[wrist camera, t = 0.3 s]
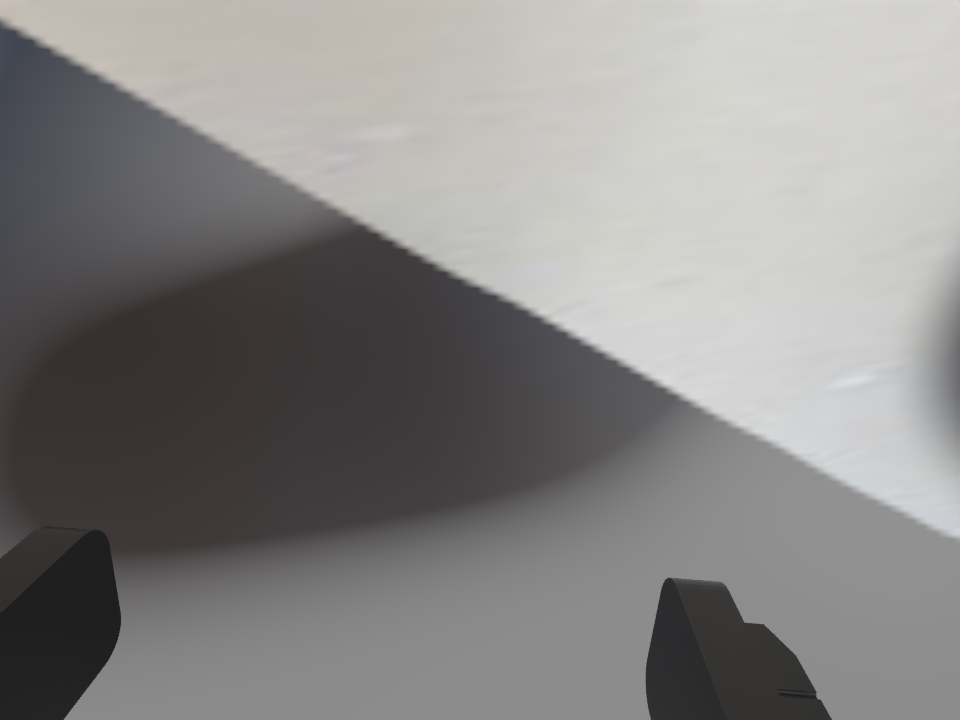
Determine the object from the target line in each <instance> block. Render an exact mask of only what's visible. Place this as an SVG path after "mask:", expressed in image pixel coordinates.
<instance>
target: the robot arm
mask: <svg viewBox="0 0 960 720" xmlns="http://www.w3.org/2000/svg"><path fill="white" fill-rule="evenodd" d="M120 626H121V612H120V606H119V600H118V594H117V588H116V582H115V576H114V570H113V563H112V557H111V551H110V545H109V541H108V538H107V536H106V535H105V534H104V533H103V532H102V531H99V530H91V529H79V528H66V527H53V526H44V527H40V528H38V529H36V530H34V531H33V532H32V533H31V534H29V535H28V536H27V537H26V538H24V539H23V540H22V541H21V542H20V543H18V544H17V545H16V546H15V547H14V548H12V549H11V550H10V551H9V552H8V553H6V554H5V555H4V556H3V557H2V558H0V720H64V718H65V717H66V716H67V714H68V713H69V712H70V710H71V709H72V708H73V706H74V705H75V704H76V702H77V701H78V700H79V699H80V697H81V696H82V694H83V693H84V692H85V691H86V689H87V688H88V687H89V685H90V684H91V683H92V681H93V680H94V679H95V677H96V676H97V675H98V673H99V672H100V671H101V670H102V668H103V667H104V666H105V664H106V663H107V661H108V660H109V658H110V656H111V655H112V652H113V650H114V648H115V645H116V643H117V640H118V636H119V631H120ZM646 694H647V703H648V708H649V713H650V717H651V720H832V719H831V717H830V716H829V714H828V712H827V710H826V709H825V707H824V705H823V703H822V701H821V700H818V699H817V697H816V691H815V689H814V687H813V685H812V684H811V682H810V680H809V678H808V676H807V675H806V673H805V671H804V669H803V668H802V666H801V664H800V662H799V660H798V659H797V657H796V655H795V654H794V653H793V652H792V651H790V650H789V649H788V648H787V647H786V646H785V645H784V644H783V643H782V642H781V641H780V640H779V639H778V638H777V637H776V636H775V635H774V634H773V633H772V632H771V631H770V630H769V629H768V628H767V627H766V626H765V625H764V624H752V623H744V621H743V619H742V617H741V615H740V613H739V611H738V609H737V607H736V605H735V603H734V601H733V599H732V597H731V594H730V592H729V591H728V589H727V587H726V586H725V585H724V584H723V583H722V582H715V581H702V580H690V579H678V578H667V579H666V580H665V582H664V583H663V586H662V590H661V594H660V599H659V604H658V609H657V614H656V619H655V624H654V629H653V633H652V639H651V643H650V648H649V653H648V658H647V666H646Z"/></svg>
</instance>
